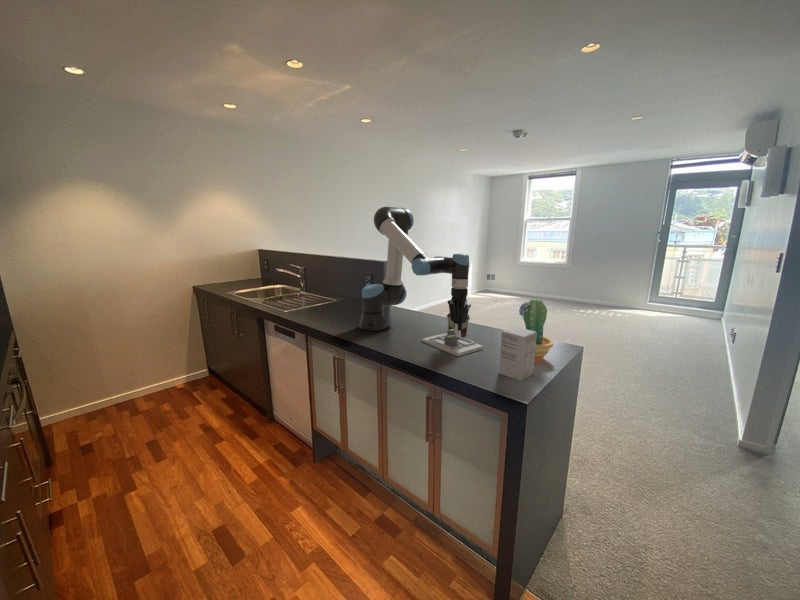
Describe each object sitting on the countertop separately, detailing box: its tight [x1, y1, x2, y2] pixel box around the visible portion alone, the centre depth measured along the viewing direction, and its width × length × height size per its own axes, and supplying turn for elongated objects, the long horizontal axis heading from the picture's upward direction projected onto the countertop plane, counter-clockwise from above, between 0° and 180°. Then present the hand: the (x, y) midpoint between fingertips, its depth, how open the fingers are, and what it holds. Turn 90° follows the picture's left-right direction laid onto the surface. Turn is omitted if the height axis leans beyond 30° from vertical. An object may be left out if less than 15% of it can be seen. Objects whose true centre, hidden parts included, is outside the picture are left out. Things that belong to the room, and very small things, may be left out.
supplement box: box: [498, 326, 537, 382], centre depth 124 cm, size 10×9×17 cm
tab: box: [444, 335, 457, 347], centre depth 151 cm, size 4×4×5 cm
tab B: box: [446, 329, 459, 339], centre depth 161 cm, size 4×4×5 cm
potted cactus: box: [518, 298, 554, 363], centre depth 139 cm, size 15×15×25 cm
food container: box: [446, 312, 471, 335], centre depth 176 cm, size 12×6×10 cm, turn 65°
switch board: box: [422, 332, 484, 357], centre depth 156 cm, size 24×16×2 cm, turn 36°
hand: (457, 336), depth 159 cm, fingers closed
